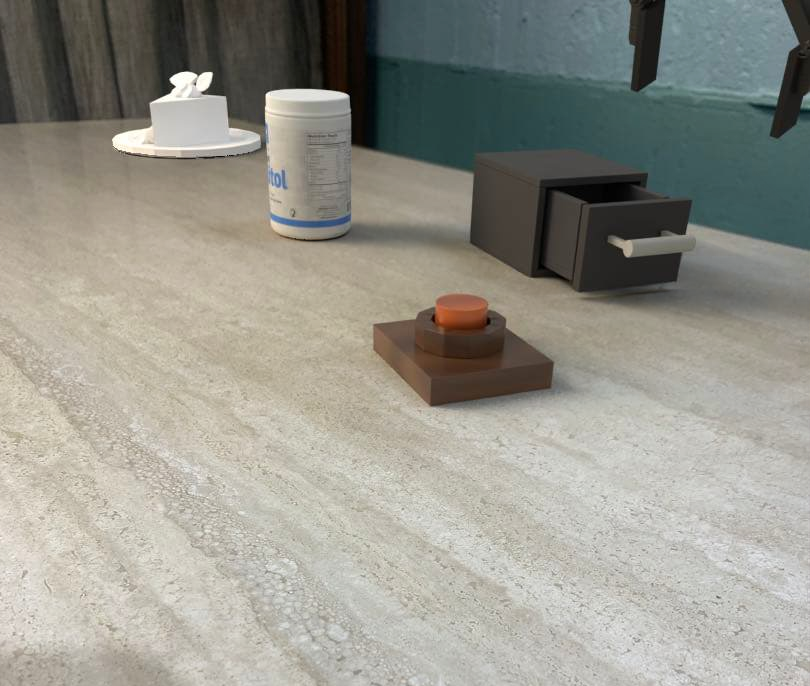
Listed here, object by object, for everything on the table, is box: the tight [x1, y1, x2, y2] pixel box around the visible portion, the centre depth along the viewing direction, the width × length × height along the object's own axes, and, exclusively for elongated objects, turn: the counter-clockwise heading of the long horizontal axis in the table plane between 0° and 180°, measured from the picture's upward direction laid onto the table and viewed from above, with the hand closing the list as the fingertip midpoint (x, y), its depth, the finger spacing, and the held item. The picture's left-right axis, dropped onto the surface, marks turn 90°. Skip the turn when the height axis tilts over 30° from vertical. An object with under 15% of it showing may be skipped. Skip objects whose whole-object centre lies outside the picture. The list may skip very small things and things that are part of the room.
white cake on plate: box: [112, 71, 262, 157], centre depth 147 cm, size 25×25×11 cm
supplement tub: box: [264, 88, 352, 241], centre depth 99 cm, size 10×10×15 cm
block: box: [372, 306, 555, 408], centre depth 68 cm, size 12×10×4 cm
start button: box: [434, 293, 489, 330], centre depth 66 cm, size 4×4×2 cm
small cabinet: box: [469, 147, 649, 279], centre depth 94 cm, size 15×13×10 cm
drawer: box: [538, 182, 697, 294], centre depth 86 cm, size 18×11×8 cm, turn 22°
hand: (709, 107), depth 73 cm, fingers open, 13 cm apart
